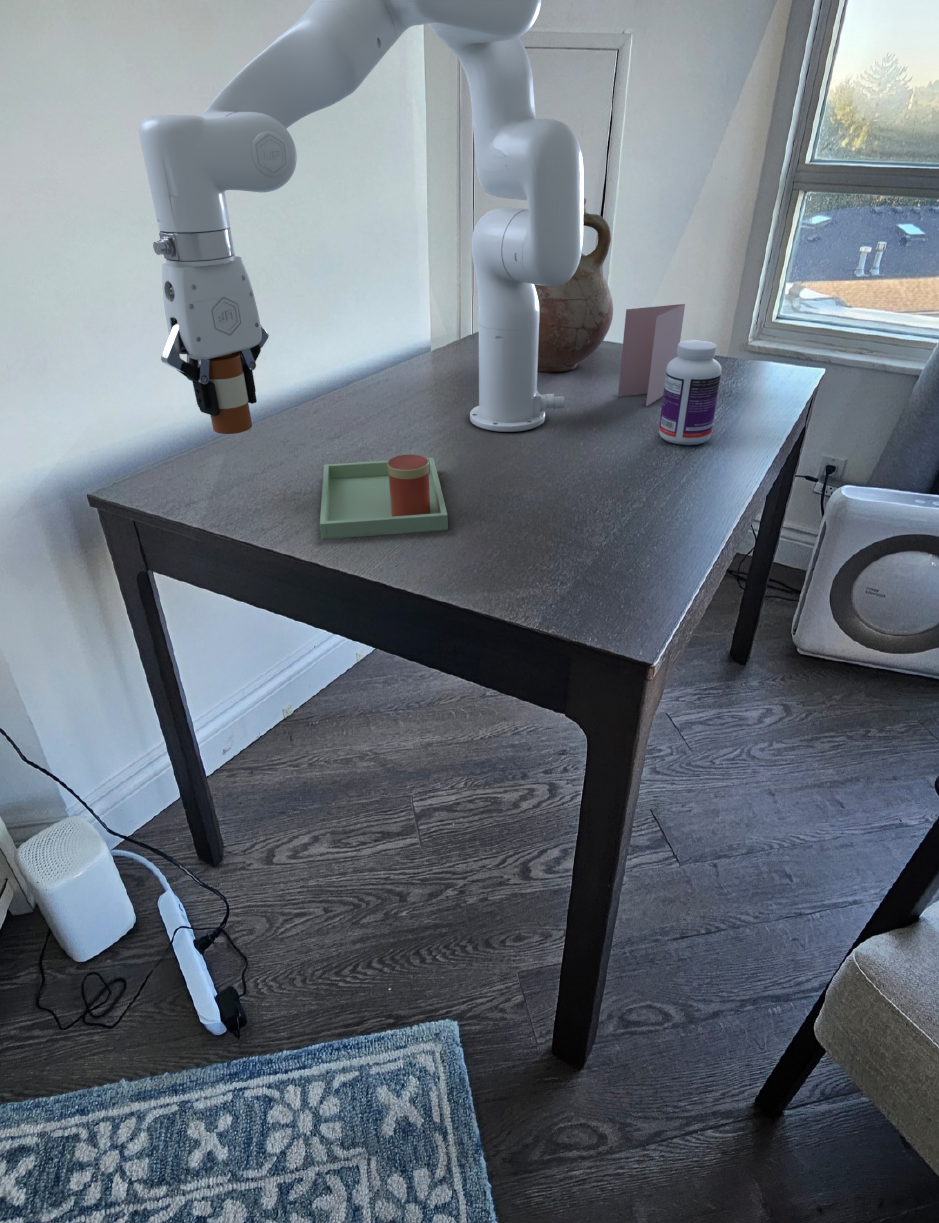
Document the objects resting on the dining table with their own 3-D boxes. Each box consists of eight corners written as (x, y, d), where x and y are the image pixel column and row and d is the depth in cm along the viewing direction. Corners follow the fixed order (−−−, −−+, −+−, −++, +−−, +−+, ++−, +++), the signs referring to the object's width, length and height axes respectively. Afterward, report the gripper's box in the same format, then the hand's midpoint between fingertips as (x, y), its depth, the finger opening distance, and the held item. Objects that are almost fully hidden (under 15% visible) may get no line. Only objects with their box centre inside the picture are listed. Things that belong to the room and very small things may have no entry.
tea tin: (429, 503, 99) (426, 452, 95) (432, 520, 95) (430, 468, 91) (390, 506, 99) (386, 455, 95) (392, 523, 94) (388, 471, 91)
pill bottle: (714, 433, 121) (730, 340, 113) (705, 450, 115) (721, 354, 107) (663, 426, 123) (676, 335, 115) (652, 443, 117) (664, 348, 109)
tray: (434, 474, 108) (433, 457, 107) (448, 533, 93) (447, 514, 92) (326, 481, 107) (323, 464, 105) (322, 543, 92) (319, 523, 90)
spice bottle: (254, 419, 98) (238, 323, 91) (250, 433, 94) (232, 333, 87) (215, 421, 97) (196, 325, 91) (210, 435, 93) (189, 335, 87)
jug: (501, 351, 163) (503, 192, 146) (601, 351, 162) (614, 191, 145) (501, 381, 145) (503, 205, 128) (614, 381, 144) (631, 203, 127)
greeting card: (670, 388, 140) (682, 302, 132) (692, 400, 134) (706, 311, 126) (615, 395, 137) (623, 308, 129) (635, 407, 131) (645, 317, 123)
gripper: (150, 260, 77) (189, 433, 87) (279, 240, 88) (300, 395, 98) (110, 254, 80) (151, 420, 91) (238, 235, 92) (263, 385, 102)
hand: (228, 405), depth 94 cm, fingers closed on spice bottle, 4 cm apart
